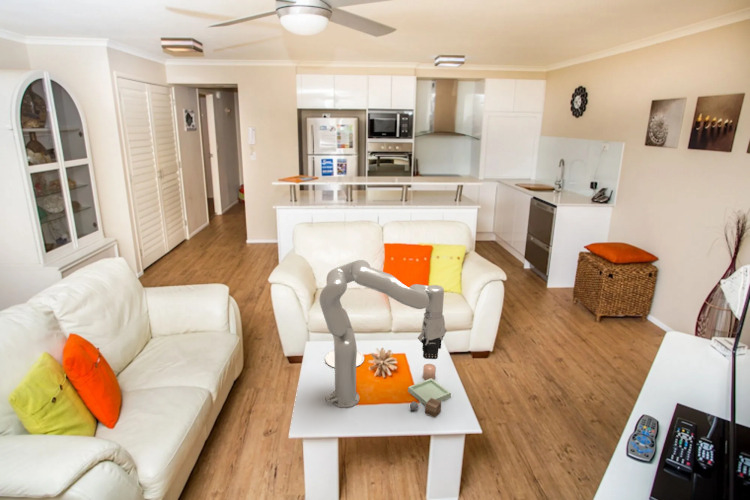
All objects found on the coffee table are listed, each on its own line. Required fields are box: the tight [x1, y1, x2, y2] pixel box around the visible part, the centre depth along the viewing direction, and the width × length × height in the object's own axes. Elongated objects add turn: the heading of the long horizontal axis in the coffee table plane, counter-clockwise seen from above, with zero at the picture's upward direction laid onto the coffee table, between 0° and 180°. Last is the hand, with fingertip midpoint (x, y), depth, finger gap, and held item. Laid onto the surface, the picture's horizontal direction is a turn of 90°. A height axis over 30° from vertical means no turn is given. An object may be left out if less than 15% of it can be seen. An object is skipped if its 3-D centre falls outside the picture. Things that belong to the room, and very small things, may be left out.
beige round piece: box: [422, 363, 437, 381], centre depth 218 cm, size 6×6×6 cm
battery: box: [422, 338, 440, 360], centre depth 198 cm, size 7×4×11 cm, turn 87°
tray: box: [407, 378, 452, 407], centre depth 205 cm, size 14×14×2 cm
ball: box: [409, 401, 419, 411], centre depth 194 cm, size 4×4×4 cm
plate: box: [324, 350, 365, 369], centre depth 235 cm, size 21×21×1 cm
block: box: [424, 398, 443, 418], centre depth 192 cm, size 5×5×5 cm
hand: (431, 349), depth 199 cm, fingers closed on battery, 6 cm apart
